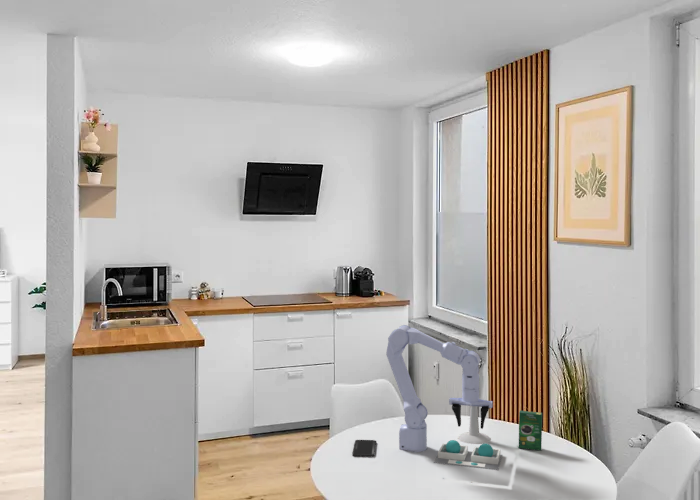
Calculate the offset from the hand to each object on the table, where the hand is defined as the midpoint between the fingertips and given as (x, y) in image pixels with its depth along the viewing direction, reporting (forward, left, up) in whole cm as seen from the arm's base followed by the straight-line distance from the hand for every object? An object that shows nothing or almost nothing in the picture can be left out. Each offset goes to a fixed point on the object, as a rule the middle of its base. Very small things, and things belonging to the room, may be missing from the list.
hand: (470, 426), depth 214 cm
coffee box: (+19, +14, -11) cm, 26 cm away
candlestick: (-1, +16, -11) cm, 19 cm away
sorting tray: (0, -5, -10) cm, 11 cm away
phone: (-37, -4, -11) cm, 39 cm away
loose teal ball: (+5, -3, -9) cm, 11 cm away
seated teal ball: (-5, -3, -9) cm, 11 cm away
